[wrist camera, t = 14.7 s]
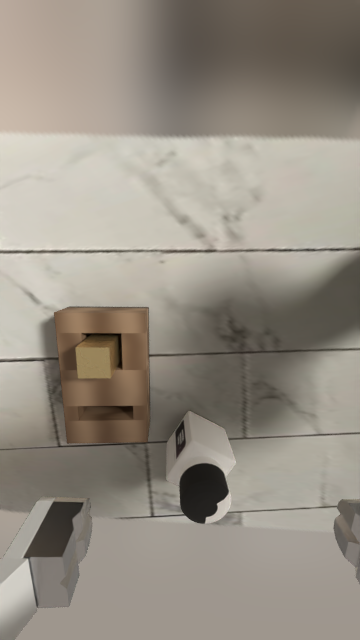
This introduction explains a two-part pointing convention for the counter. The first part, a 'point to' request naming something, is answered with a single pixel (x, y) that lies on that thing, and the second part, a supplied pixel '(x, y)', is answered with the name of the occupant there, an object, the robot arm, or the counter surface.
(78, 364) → the light wooden square bit
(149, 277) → the counter surface
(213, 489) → the container
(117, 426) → the walnut socket block
